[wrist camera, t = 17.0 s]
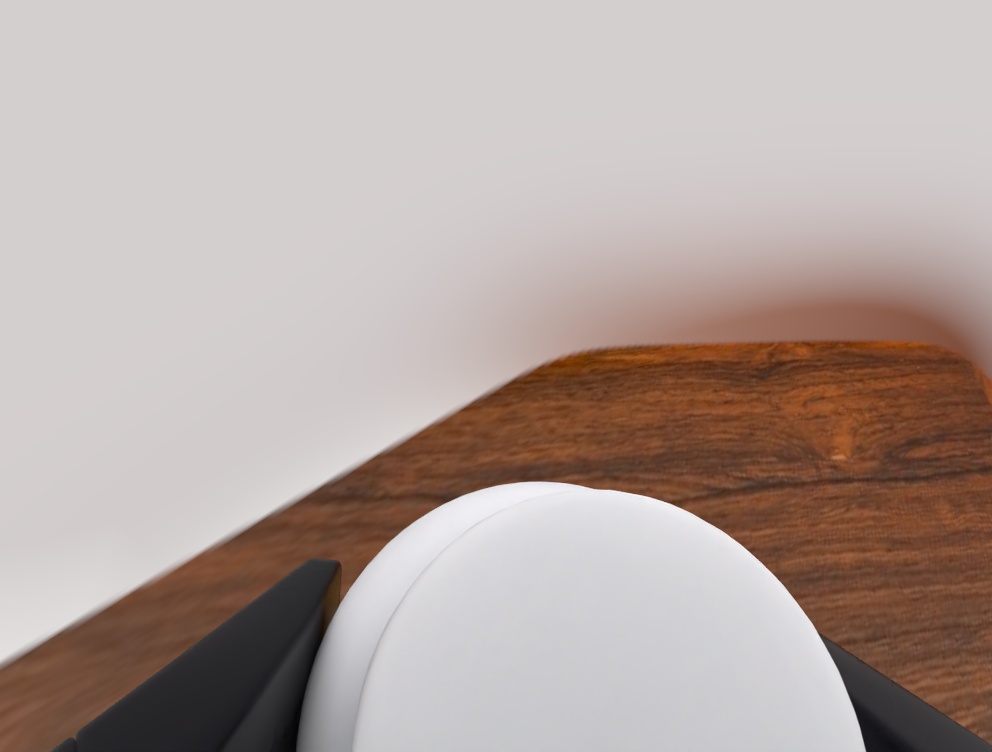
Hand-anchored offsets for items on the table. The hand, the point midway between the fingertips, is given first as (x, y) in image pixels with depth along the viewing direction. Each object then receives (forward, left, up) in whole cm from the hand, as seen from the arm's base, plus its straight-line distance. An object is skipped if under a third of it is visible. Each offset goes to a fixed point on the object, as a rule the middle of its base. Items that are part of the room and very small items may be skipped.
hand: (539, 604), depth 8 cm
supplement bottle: (-1, +1, -7) cm, 7 cm away
